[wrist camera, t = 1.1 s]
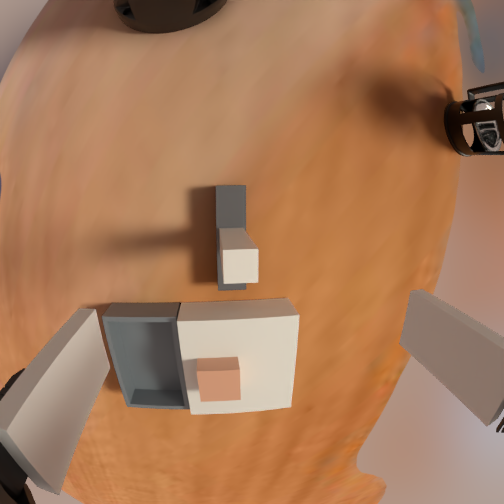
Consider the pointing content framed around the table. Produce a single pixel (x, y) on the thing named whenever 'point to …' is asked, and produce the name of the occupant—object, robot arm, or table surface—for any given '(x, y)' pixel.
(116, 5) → the robot arm
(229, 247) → the scraper
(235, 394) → the tile
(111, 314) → the box
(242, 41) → the table surface
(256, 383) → the plate
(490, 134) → the french press
